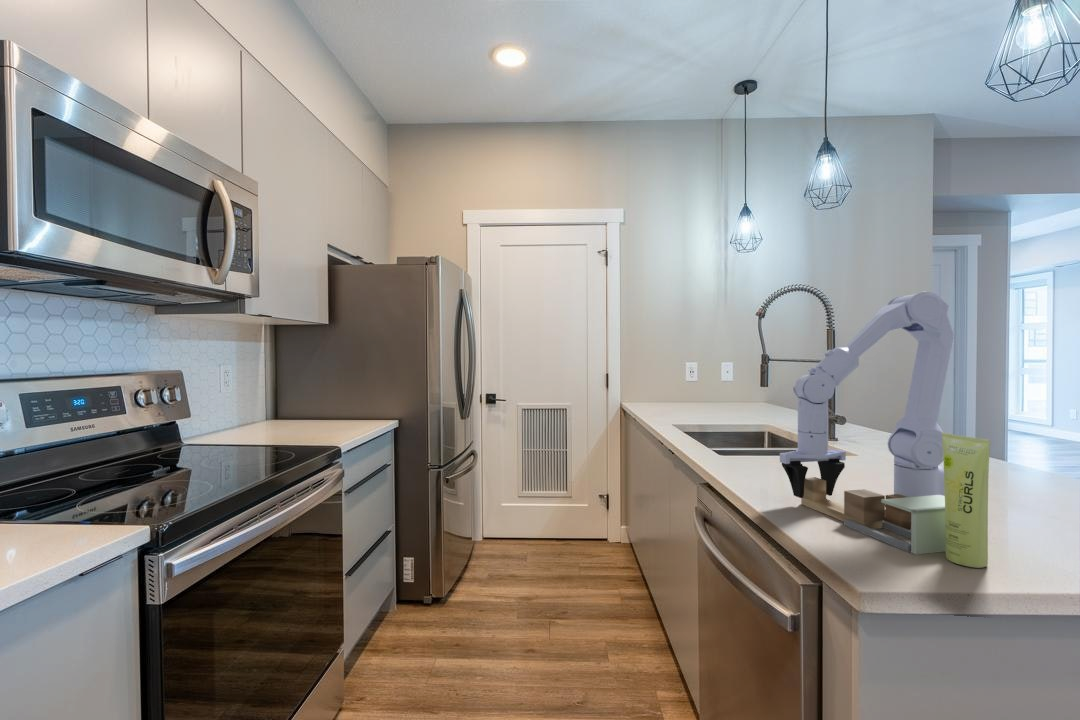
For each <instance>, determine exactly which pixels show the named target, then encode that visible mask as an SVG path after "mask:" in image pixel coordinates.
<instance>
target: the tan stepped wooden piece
mask: <svg viewBox="0 0 1080 720" xmlns="http://www.w3.org/2000/svg"><path fill="white" fill-rule="evenodd" d="M800 499H801V501H800V502H801V504H800V505H803V506H805V507H807V508H810V509H813V510H815V511H817V512H819V513H823V514H825V515H826V516H830V517H832V518H834V519H837V520H840V521H842V522H844V520H847V519H849V520H851V521H854V522H856V523H859V524H861V525H864V526H866V527H869V528H871V529H874V530H876V529H883V527H882V521H871V522H862V521H860V520H857V519H855V518H852V517H850V516H847V515H845V514H844V504H841V503H838V502H835V501H833V500H829V499H828V498H827V495H826V481H825V480H822V479H821V478H819V477H816V476H815V477H813V476H812V477H805V482H804V496H803V498H800Z"/></svg>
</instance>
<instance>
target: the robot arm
mask: <svg viewBox="0 0 1080 720" xmlns="http://www.w3.org/2000/svg"><path fill="white" fill-rule="evenodd" d="M948 310H949V304H948V303H947V302H946V301H944V299H942V297H940V295H938V294H936V293H935V292H933V291H920V292H917V293H914V294H908V295H900V296H896V297H894V298H892V299H890V300H889V302H888V303H887V304H886V305H884V306H882V307H880V309H879V310H878V311H877V312H876V313H875V315H874V316H873V317H872V318H871V319H870V320H869V321H868V322H867V323H866V324H865V325H864V326H863V327H862V328H861V330H859V331H858V333H857V334H855V335H854V336H853V338H852V339H851V340H850V341H849V342H848V343H847V344H846V345H845V346H844V347H843V346H841V347H838V346H837V347H834V348H833V349H828V350H826V351H825V352H824V355H825V356H824V357H823V359H822V360H820V361H819V362H818V363H817V364H816V365H815V366H814V367H813V366H812V367H810V368H808V372H809V374H805V375H804V374H803V375H802V376H800V377H799V378H798V379H797V380H796V381H795V385H794V386H793V387H792V390H793V393H794V395H795V396H796V397H797V448H796V450H793V451H786V452H780V453H779V463H781V466H782V468H783V470H784V472H785V473H786V475H787V477H788V479H789V480H788V481H789V483H790V487H791V490H792V493H793V496H794V497H796V498H800V499H801V498H803V496H804V482H805V478H807V477H806V476H807V472H808V470H809V467H808V466H807V465H806V466H805V465H803V463H806V462H807V463H809V462H810V463H811V462H816V463H817V464H818V465H817V466H818V469H819V473H820V479H822V480H825V481H826V496H829V497H830V496H833V493H834V489H835V485H836V483H837V480H838V478H839V477H840V475H841V473H842V472H843V470H844V469H845V467H846V466H845V463H846V462H843V461H846V455H847V454H846V451H844V450H841V449H829V400H830V399H832V398H833V395H834V393H835V389H836V388H837V387H838V386H839V385H840V384H841V383H842V382H843V381H844V380H845V379H847V378H848V376H850V375H851V374H852V373H853V372H854V371H856V369H858V368H859V365H860V361H859V360H860V356H862V355H863V354H864V353H865V352H867V351H868V350H869V349H870V348H871V347H872V346H874V345H875V344H876V343H877V342H878V341H879V340H881V339H882V338H883V337H884V336H885V335H887V334H888V333H889V332H891V331H895V330H898V329H902V330H904V331H906V332H908V334H910V336H912V337H913V338H914V339H915V340H916V341H917V342H918V343H917V348H916V349H917V350H916V355H915V360H914V365H913V369H912V375H911V379H910V380H911V381H910V385H909V391H908V395H907V396H908V397H907V400H906V401H907V402H906V405H905V406H906V407H905V411H904V416H903V417H902V418H900V419H899V420H898V422H896V423H895V429H894V431H893V432H892V433H891V434H890V436H889V438H888V440H887V448H888V450H889V452H890V453H891V454H892V455H893V458H894V459H893V494H900V495H904V496H907V497H918V496H931V495H943V496H945V489H944V466H941V464H942V463H944V461H943V443H942V433H944V431H943V430H942V428H941V426H940V425H939V423H938V418H939V412H940V408H941V404H942V403H941V402H942V398H943V392H944V387H945V383H946V378H947V372H948V369H949V368H948V366H949V363H950V362H949V361H950V358H951V352H952V347H953V342H954V331H953V329H952V325H951V322H950V320H949V316H948Z"/></svg>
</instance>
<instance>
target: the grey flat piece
mask: <svg viewBox="0 0 1080 720" xmlns="http://www.w3.org/2000/svg"><path fill="white" fill-rule="evenodd" d="M843 526H846V527H848V528H850V529H852V530H855V531H858V532H860V533H863V534H864V535H867V536H869V537H872V538H873V539H877V540H879V541H881V542H883V543H886V544H888V545H890V546H892V547H895V548H897V549H900V550H902V551H904V552H908V553H911V543H908V542H906V541H903V540H900V539H898V538H896V537H893V536H891V535H888V534H885V533H884V532H882V531H879V530H876V529H871V528H869V527H866V526H864V525H861V524H859V523H856V522H854V521H851V520H849V519H847V520H844V521H843ZM882 529H886V530H888V531H890V532H893V533H895V534H898V535H901V536H903V537H906V538H909V539H911V526H910V530H908V529H905V528H903V527H900V526H897V525H895V524H892V523H889V522H887V521H884V520H882Z"/></svg>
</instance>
